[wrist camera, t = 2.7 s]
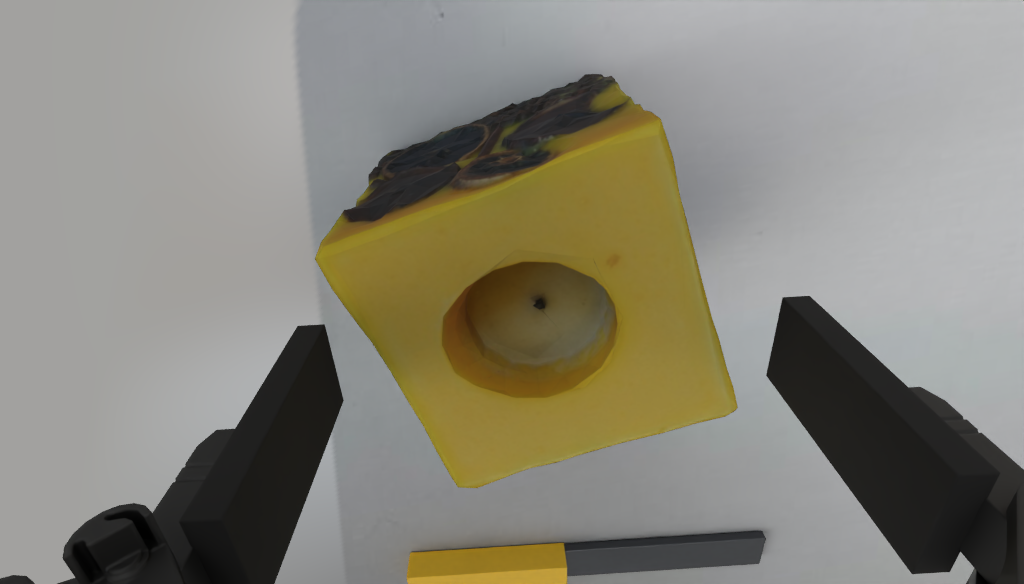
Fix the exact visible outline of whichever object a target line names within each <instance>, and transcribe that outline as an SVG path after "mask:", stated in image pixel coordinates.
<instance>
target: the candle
mask: <svg viewBox="0 0 1024 584" xmlns="http://www.w3.org/2000/svg"><path fill="white" fill-rule="evenodd" d="M315 260H316V262H317V263H318V265H319V267H320V269H321V270H322V272H323V274H324V276H325V277H326V279H327V281H328V283H329V284H330V286H331V288H332V289H333V291H334V292H335V294H336V295H337V296H338V298H339V299H340V301H341V302H342V303H343V305H344V306H345V307H346V309H347V310H348V312H349V313H350V314H351V316H352V317H353V318H354V320H355V321H356V322H357V324H358V325H359V326H360V328H361V329H362V330H363V331H364V333H365V334H366V335H367V337H368V338H369V339H370V340H371V342H372V343H373V345H374V346H375V348H376V350H377V351H378V353H379V354H380V356H381V357H382V359H383V360H384V362H385V364H386V365H387V367H388V368H389V370H390V371H391V373H392V375H393V376H394V378H395V380H396V382H397V383H398V385H399V387H400V388H401V390H402V392H403V393H404V395H405V397H406V399H407V400H408V402H409V404H410V405H411V407H412V408H413V410H414V412H415V413H416V415H417V416H418V418H419V420H420V421H421V423H422V424H423V426H424V428H425V430H426V432H427V434H428V435H429V437H430V439H431V441H432V443H433V445H434V447H435V449H436V451H437V453H438V454H439V456H440V458H441V460H442V461H443V463H444V465H445V467H446V468H447V470H448V472H449V474H450V475H451V477H452V479H453V480H454V482H455V483H456V485H457V486H458V487H462V488H478V487H481V486H484V485H486V484H489V483H491V482H494V481H497V480H499V479H502V478H505V477H507V476H510V475H512V474H515V473H518V472H521V471H523V470H526V469H529V468H533V467H537V466H542V465H547V464H551V463H556V462H559V461H562V460H565V459H568V458H571V457H574V456H578V455H581V454H584V453H588V452H591V451H595V450H598V449H602V448H605V447H609V446H612V445H616V444H619V443H623V442H627V441H631V440H635V439H640V438H644V437H648V436H652V435H656V434H660V433H664V432H668V431H671V430H675V429H678V428H682V427H685V426H688V425H692V424H695V423H699V422H704V421H708V420H712V419H716V418H720V417H725V416H727V415H728V414H730V413H732V412H734V411H735V410H736V409H737V408H738V407H737V403H736V398H735V393H734V389H733V385H732V382H731V379H730V377H729V374H728V371H727V368H726V364H725V360H724V356H723V353H722V349H721V345H720V341H719V338H718V335H717V332H716V329H715V326H714V323H713V320H712V317H711V313H710V309H709V306H708V302H707V298H706V294H705V290H704V287H703V283H702V279H701V275H700V271H699V267H698V263H697V260H696V256H695V252H694V248H693V244H692V240H691V236H690V232H689V228H688V224H687V220H686V217H685V213H684V209H683V206H682V202H681V198H680V194H679V189H678V183H677V178H676V172H675V166H674V161H673V156H672V153H671V150H670V147H669V144H668V141H667V138H666V134H665V131H664V128H663V125H662V122H661V119H660V118H659V117H657V116H656V115H654V114H653V113H652V112H649V111H644V110H643V109H642V107H641V106H640V104H637V105H635V104H634V102H633V100H632V99H631V97H629V96H627V95H626V94H625V93H624V92H623V91H622V90H621V89H620V87H619V85H618V83H617V82H615V79H614V78H613V77H612V76H609V77H604V76H602V75H601V74H588V75H584V76H583V77H582V78H581V79H580V80H579V81H578V82H574V83H569V84H568V85H567V86H565V87H562V88H556V89H552V90H550V91H549V92H547V93H546V94H545V95H543V96H541V97H536V98H532V99H530V100H527V101H524V102H522V103H520V104H518V105H516V104H513V103H512V104H511V105H509V106H508V107H505V108H503V109H501V110H499V111H497V112H493V113H491V114H490V115H488V116H486V117H484V118H483V119H480V120H477V121H474V122H472V123H470V124H468V125H463V126H459V127H455V128H453V129H451V130H449V131H446V132H441V133H439V134H438V135H437V136H435V137H434V138H432V139H431V140H429V141H427V142H423V143H419V144H415V145H412V146H410V147H409V148H407V149H404V150H395V151H391V152H390V153H388V154H387V155H386V156H384V157H383V158H382V159H381V160H380V161H379V164H378V167H375V168H374V169H373V171H372V172H371V173H370V174H369V187H368V188H367V189H366V191H365V192H364V194H363V195H362V196H361V197H359V198H358V199H357V203H356V207H354V208H352V209H348V210H344V211H343V213H342V214H341V216H340V217H339V219H338V220H337V222H336V223H335V225H334V226H333V228H332V229H331V231H330V232H329V233H328V234H327V236H326V237H325V238H324V239H323V240H322V242H321V244H320V247H319V249H318V252H317V255H316V258H315Z"/></svg>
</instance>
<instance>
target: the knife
mask: <svg viewBox="0 0 1024 584" xmlns="http://www.w3.org/2000/svg"><path fill="white" fill-rule="evenodd" d="M765 540H766V538H765V536H764V534H763V532H762V531H754V532H738V533H723V534H707V535H692V536H677V537H661V538H646V539H630V540H615V541H600V542H584V543H569V544H564V543H551V544H535V545H520V546H505V547H489V548H474V549H458V550H443V551H427V552H412V553H410V558H409V565H408V572H407V582H408V584H567V576H579V575H594V574H609V573H624V572H640V571H655V570H670V569H686V568H701V567H716V566H731V565H747V564H759V562H760V559H761V555H762V551H763V547H764V543H765Z"/></svg>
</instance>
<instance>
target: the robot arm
mask: <svg viewBox="0 0 1024 584" xmlns="http://www.w3.org/2000/svg"><path fill="white" fill-rule="evenodd" d="M766 376H767V377H768V378H769V380H770V381H771V382H772V384H773V385H774V386H775V388H776V389H777V391H778V392H779V393H780V395H781V396H782V397H783V399H784V400H785V401H786V403H787V404H788V406H789V407H790V408H791V410H792V411H793V412H794V414H795V415H796V416H797V418H798V419H799V421H800V422H801V423H802V425H803V426H804V427H805V429H806V430H807V431H808V433H809V434H810V436H811V437H812V438H813V440H814V441H815V442H816V444H817V445H818V446H819V448H820V449H821V451H822V452H823V453H824V455H825V456H826V457H827V459H828V460H829V461H830V463H831V464H832V466H833V467H834V468H835V470H836V471H837V472H838V474H839V475H840V476H841V478H842V479H843V481H844V482H845V483H846V485H847V486H848V487H849V489H850V490H851V491H852V493H853V494H854V496H855V497H856V498H857V500H858V501H859V502H860V504H861V505H862V506H863V508H864V509H865V511H866V512H867V513H868V515H869V516H870V517H871V519H872V520H873V521H874V523H875V524H876V526H877V527H878V528H879V530H880V531H881V532H882V534H883V535H884V536H885V538H886V539H887V541H888V542H889V543H890V545H891V546H892V547H893V549H894V550H895V551H896V553H897V554H898V556H899V557H900V558H901V560H902V561H903V562H904V564H905V565H906V566H907V568H908V569H909V571H910V572H911V573H912V574H920V573H937V572H950V570H951V568H952V566H953V565H954V563H955V561H956V559H957V557H958V555H959V553H960V551H961V552H962V554H963V555H964V556H965V557H966V558H967V560H968V561H969V562H970V563H971V564H972V565H973V567H974V570H973V572H972V574H971V576H970V577H969V579H968V581H967V583H966V584H1024V470H1023V469H1022V468H1021V467H1020V466H1019V465H1017V464H1016V463H1015V462H1014V461H1013V460H1012V459H1011V458H1010V457H1008V456H1007V455H1006V454H1005V453H1004V452H1003V451H1002V450H1000V449H999V448H998V447H997V446H996V445H995V444H994V443H992V442H991V441H990V440H989V439H988V438H987V437H986V436H985V435H983V434H982V433H978V429H977V428H975V427H974V426H973V425H972V424H971V423H970V422H969V421H967V420H964V419H963V416H962V415H961V414H960V413H958V412H957V411H956V410H955V409H954V408H953V407H952V406H950V405H949V404H948V403H947V402H946V401H945V400H943V399H941V398H939V397H938V396H936V395H934V394H932V393H930V392H928V391H927V390H925V389H923V388H921V387H911V388H908V387H907V386H906V385H905V384H904V383H903V382H902V381H901V380H900V379H899V378H898V377H896V376H895V375H894V374H893V373H892V372H891V371H890V370H889V369H888V368H887V367H886V366H885V365H883V364H882V363H881V362H880V361H879V360H878V359H877V358H876V357H875V356H874V355H873V354H872V353H871V352H869V351H868V350H867V349H866V348H865V347H864V346H863V345H862V344H861V343H860V342H859V341H858V340H856V339H855V338H854V337H853V336H852V335H851V334H850V333H849V332H848V331H847V330H846V329H845V328H844V327H842V326H841V325H840V324H839V323H838V322H837V321H836V320H835V319H834V318H833V317H832V316H831V315H829V314H828V313H827V312H826V311H825V310H824V309H823V308H822V307H821V306H820V305H819V304H818V303H817V302H815V301H814V300H813V299H812V298H811V297H810V296H801V297H784V298H783V299H782V304H781V308H780V313H779V318H778V323H777V328H776V332H775V337H774V342H773V347H772V351H771V356H770V361H769V366H768V370H767V375H766ZM342 403H343V397H342V392H341V388H340V384H339V380H338V376H337V372H336V368H335V364H334V360H333V356H332V352H331V348H330V344H329V340H328V336H327V332H326V328H325V324H324V325H308V326H298V327H297V328H296V330H295V331H294V333H293V335H292V336H291V338H290V340H289V341H288V343H287V345H286V346H285V348H284V350H283V351H282V353H281V355H280V356H279V358H278V360H277V361H276V363H275V364H274V366H273V368H272V369H271V371H270V373H269V374H268V376H267V378H266V379H265V381H264V383H263V384H262V386H261V387H260V389H259V391H258V392H257V394H256V396H255V397H254V399H253V401H252V402H251V404H250V405H249V407H248V409H247V410H246V412H245V414H244V415H243V417H242V419H241V420H240V422H239V424H238V425H237V427H236V429H225V430H216V431H215V432H214V433H212V434H211V435H210V436H209V437H208V438H206V439H205V440H204V441H203V442H202V443H200V444H199V445H198V446H197V447H196V449H195V450H194V452H193V453H192V455H191V457H190V458H189V459H188V461H187V462H186V466H185V467H184V468H182V470H181V471H180V473H179V475H178V476H177V477H176V481H175V482H174V483H172V485H171V486H170V488H169V489H168V491H167V492H166V494H165V495H164V497H163V498H162V500H161V501H160V503H159V504H158V506H157V507H156V509H155V510H154V512H153V513H152V512H151V511H150V510H149V509H148V508H147V507H146V506H144V505H140V504H135V503H133V504H126V505H119V506H117V507H114V508H111V509H109V510H106V511H104V512H102V513H100V514H98V515H97V516H95V517H93V518H92V519H90V520H89V521H87V522H86V523H85V524H83V525H82V526H81V527H80V528H79V529H78V530H77V531H76V532H75V533H74V534H73V535H72V536H71V538H70V539H69V541H68V542H67V544H66V545H65V547H64V553H63V560H64V561H65V563H66V564H67V566H68V567H69V568H70V570H71V571H72V573H73V574H74V576H75V577H76V578H73V579H70V580H67V581H64V582H61V583H58V584H274V583H275V580H276V578H277V575H278V572H279V570H280V567H281V564H282V561H283V559H284V556H285V554H286V551H287V549H288V546H289V543H290V541H291V538H292V535H293V533H294V530H295V527H296V524H297V522H298V519H299V517H300V514H301V512H302V509H303V506H304V504H305V501H306V498H307V496H308V493H309V490H310V488H311V485H312V482H313V480H314V477H315V474H316V472H317V469H318V467H319V464H320V461H321V459H322V456H323V453H324V451H325V448H326V445H327V443H328V440H329V438H330V435H331V432H332V430H333V427H334V424H335V422H336V419H337V416H338V414H339V411H340V408H341V406H342ZM0 584H34V582H33V581H31V580H30V579H29V578H28V577H27V576H16V575H12V576H9V577H5V578H1V579H0Z"/></svg>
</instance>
